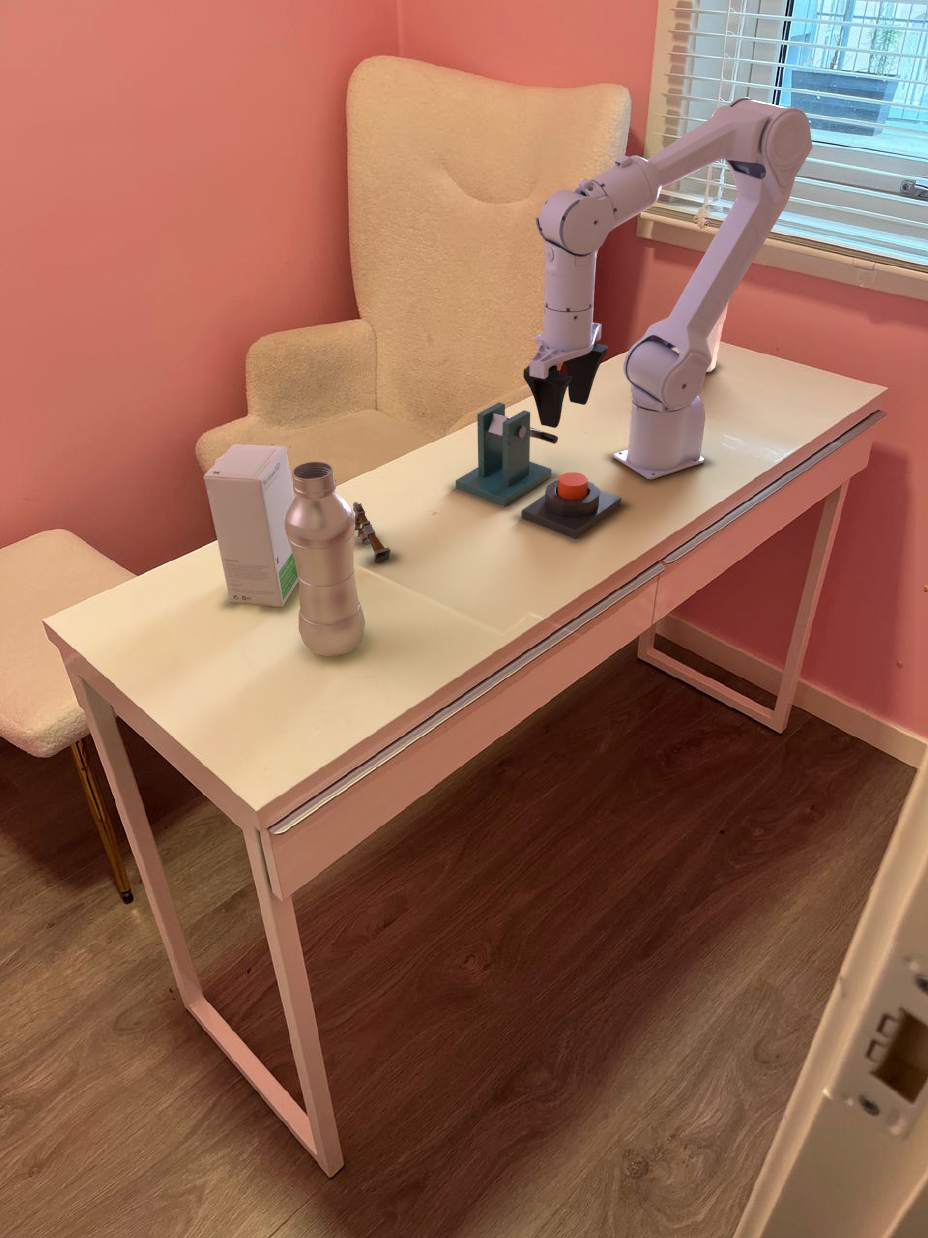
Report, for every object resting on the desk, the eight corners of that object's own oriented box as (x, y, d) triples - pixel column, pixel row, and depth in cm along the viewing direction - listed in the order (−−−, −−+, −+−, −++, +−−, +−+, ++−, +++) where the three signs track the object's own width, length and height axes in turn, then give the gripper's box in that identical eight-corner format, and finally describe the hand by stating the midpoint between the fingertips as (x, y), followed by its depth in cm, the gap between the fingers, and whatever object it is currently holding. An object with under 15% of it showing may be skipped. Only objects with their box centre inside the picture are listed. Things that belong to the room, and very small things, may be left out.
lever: (524, 439, 131) (530, 421, 131) (555, 449, 129) (560, 431, 128) (479, 428, 122) (484, 410, 122) (510, 439, 120) (516, 420, 119)
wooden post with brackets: (359, 519, 118) (362, 496, 114) (386, 570, 115) (390, 548, 111) (345, 523, 117) (348, 500, 114) (372, 575, 114) (376, 552, 110)
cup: (677, 373, 154) (685, 304, 148) (677, 358, 160) (684, 290, 153) (720, 375, 153) (730, 305, 147) (718, 359, 159) (727, 291, 152)
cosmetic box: (282, 610, 105) (261, 482, 96) (225, 604, 106) (198, 477, 97) (307, 567, 112) (290, 444, 102) (253, 562, 113) (231, 440, 103)
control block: (568, 487, 125) (569, 466, 124) (621, 506, 121) (622, 484, 119) (521, 518, 119) (521, 497, 117) (575, 539, 115) (576, 517, 113)
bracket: (503, 460, 132) (503, 391, 126) (551, 476, 128) (553, 407, 122) (455, 488, 126) (453, 418, 120) (504, 507, 122) (504, 435, 116)
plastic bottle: (303, 628, 102) (277, 456, 90) (367, 623, 103) (349, 452, 91) (300, 666, 97) (271, 490, 85) (367, 662, 97) (349, 485, 85)
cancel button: (568, 483, 121) (569, 469, 119) (593, 492, 119) (593, 477, 118) (551, 495, 119) (552, 480, 117) (576, 504, 117) (577, 489, 115)
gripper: (567, 281, 119) (562, 386, 127) (506, 317, 109) (506, 428, 117) (619, 290, 116) (612, 397, 124) (562, 327, 106) (558, 441, 114)
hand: (564, 413), depth 120 cm, fingers open, 7 cm apart
